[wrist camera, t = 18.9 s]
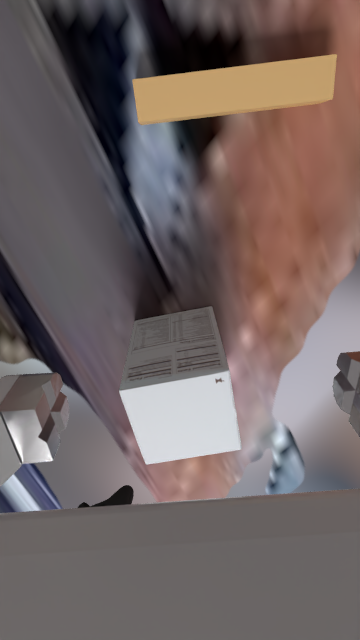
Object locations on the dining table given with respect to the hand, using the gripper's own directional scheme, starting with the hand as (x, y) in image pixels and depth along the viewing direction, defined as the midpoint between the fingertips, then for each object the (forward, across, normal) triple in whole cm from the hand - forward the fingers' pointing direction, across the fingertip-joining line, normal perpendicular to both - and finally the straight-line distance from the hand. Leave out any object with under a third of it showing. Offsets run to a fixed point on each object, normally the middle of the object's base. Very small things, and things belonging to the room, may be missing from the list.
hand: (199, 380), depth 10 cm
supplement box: (+39, +1, +23) cm, 46 cm away
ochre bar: (+40, -7, -12) cm, 42 cm away
